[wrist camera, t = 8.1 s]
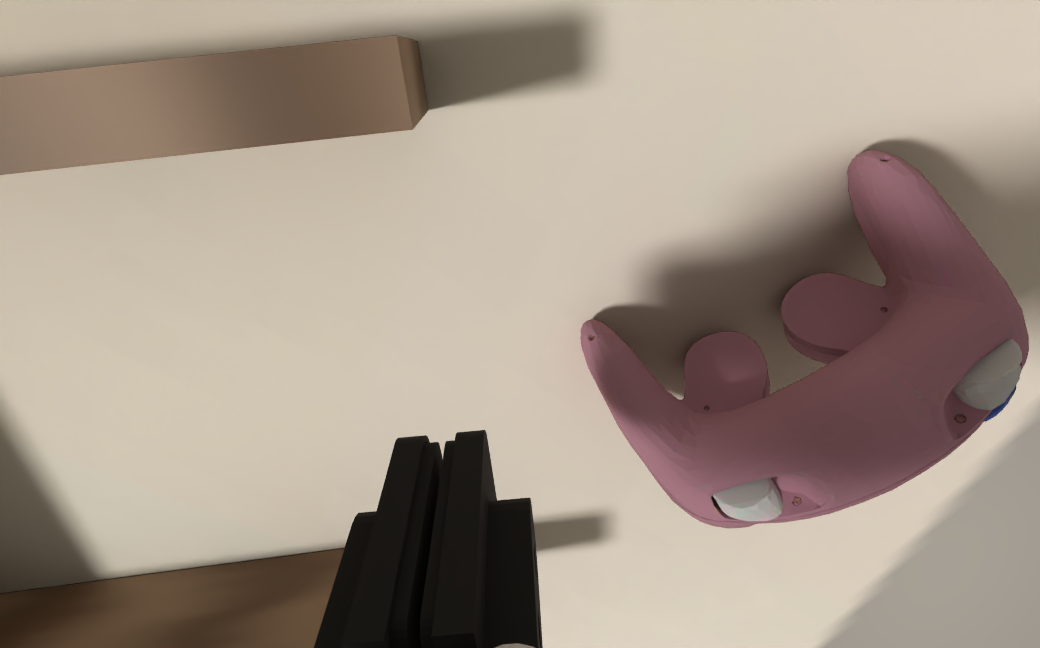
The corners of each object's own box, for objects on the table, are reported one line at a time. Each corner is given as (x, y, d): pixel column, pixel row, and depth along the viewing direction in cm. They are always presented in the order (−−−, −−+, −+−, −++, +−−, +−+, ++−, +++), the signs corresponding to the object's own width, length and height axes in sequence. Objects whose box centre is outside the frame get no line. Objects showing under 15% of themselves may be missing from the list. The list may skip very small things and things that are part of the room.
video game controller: (608, 383, 19) (715, 586, 15) (554, 323, 16) (675, 566, 11) (876, 226, 17) (1088, 404, 13) (884, 118, 14) (1175, 314, 10)
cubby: (417, 41, 13) (396, 35, 9) (499, 558, 20) (505, 666, 17) (-437, 131, 12) (-815, 162, 9) (-29, 629, 20) (-140, 756, 16)
